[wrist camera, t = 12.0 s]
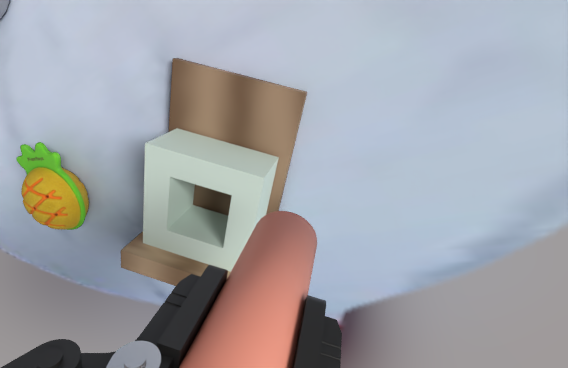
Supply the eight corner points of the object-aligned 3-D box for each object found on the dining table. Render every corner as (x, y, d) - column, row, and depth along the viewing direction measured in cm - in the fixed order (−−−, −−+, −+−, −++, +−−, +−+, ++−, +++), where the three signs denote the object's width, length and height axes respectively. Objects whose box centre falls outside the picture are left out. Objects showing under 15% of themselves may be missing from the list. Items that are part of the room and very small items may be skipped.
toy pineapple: (67, 218, 39) (26, 243, 34) (29, 140, 35) (-22, 155, 31) (112, 216, 37) (76, 241, 32) (78, 133, 34) (32, 147, 29)
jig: (167, 224, 36) (121, 267, 29) (177, 58, 28) (117, 62, 21) (267, 256, 35) (244, 309, 28) (307, 92, 27) (289, 108, 20)
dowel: (249, 254, 17) (56, 643, 6) (260, 203, 15) (32, 587, 4) (308, 273, 16) (218, 717, 6) (324, 222, 15) (247, 682, 4)
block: (171, 216, 34) (142, 242, 30) (177, 128, 30) (145, 143, 25) (259, 244, 33) (243, 276, 29) (278, 157, 29) (264, 177, 24)
